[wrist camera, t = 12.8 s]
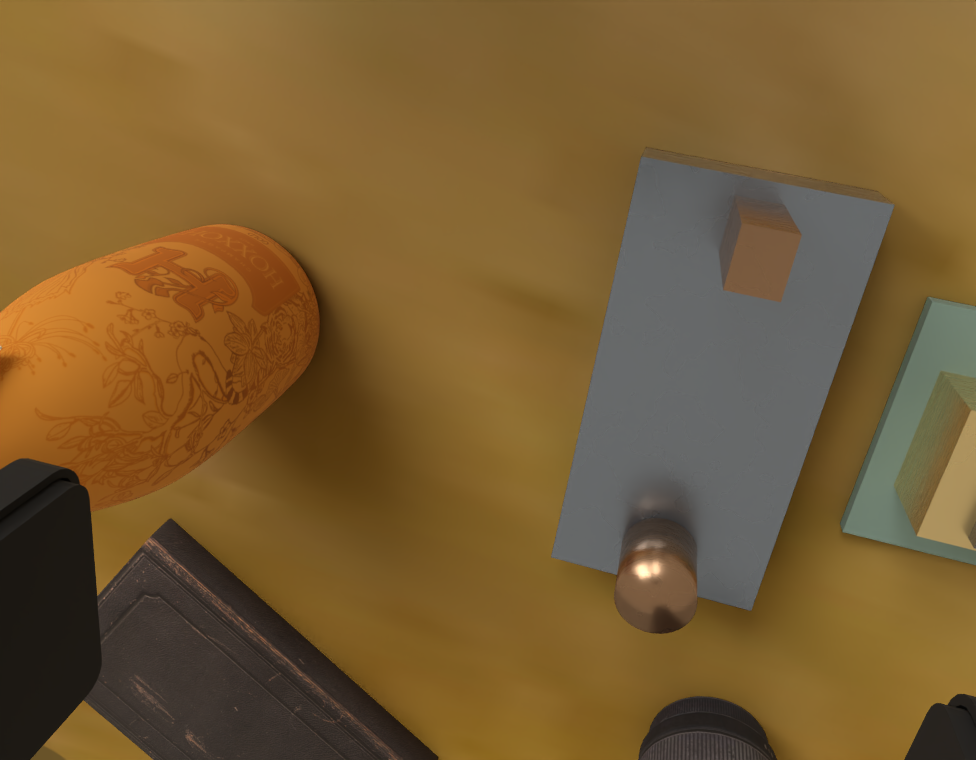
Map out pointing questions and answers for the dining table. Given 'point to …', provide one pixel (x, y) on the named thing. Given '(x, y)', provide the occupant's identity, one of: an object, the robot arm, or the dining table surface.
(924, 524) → the lever cap
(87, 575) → the robot arm
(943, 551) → the rubber mat
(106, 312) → the wine bottle
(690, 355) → the hand plane
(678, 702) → the camera lens
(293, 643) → the hardcover book
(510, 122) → the dining table surface
